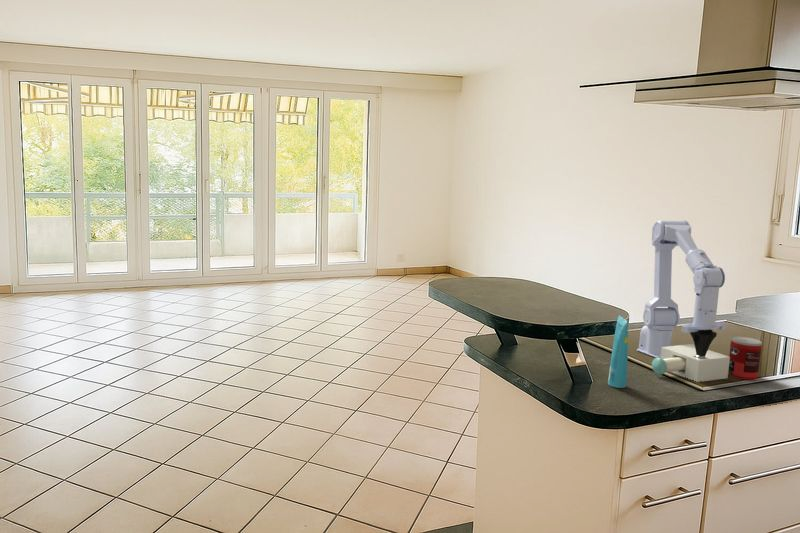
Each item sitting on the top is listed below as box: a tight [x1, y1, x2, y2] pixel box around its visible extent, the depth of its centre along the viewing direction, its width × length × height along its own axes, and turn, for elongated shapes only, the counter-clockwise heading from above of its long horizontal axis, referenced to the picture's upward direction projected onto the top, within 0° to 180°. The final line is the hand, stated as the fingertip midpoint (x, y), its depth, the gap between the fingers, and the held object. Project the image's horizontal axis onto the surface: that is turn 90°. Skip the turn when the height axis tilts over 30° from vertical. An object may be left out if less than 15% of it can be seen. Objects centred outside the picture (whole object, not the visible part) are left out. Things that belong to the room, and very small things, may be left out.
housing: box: [660, 343, 730, 383], centre depth 184 cm, size 14×12×6 cm
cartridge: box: [651, 357, 686, 376], centre depth 182 cm, size 5×17×5 cm, turn 112°
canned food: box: [728, 336, 763, 381], centre depth 182 cm, size 8×8×11 cm
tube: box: [607, 314, 629, 389], centre depth 170 cm, size 7×5×19 cm, turn 3°
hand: (700, 355), depth 178 cm, fingers closed, pressing on plunger
